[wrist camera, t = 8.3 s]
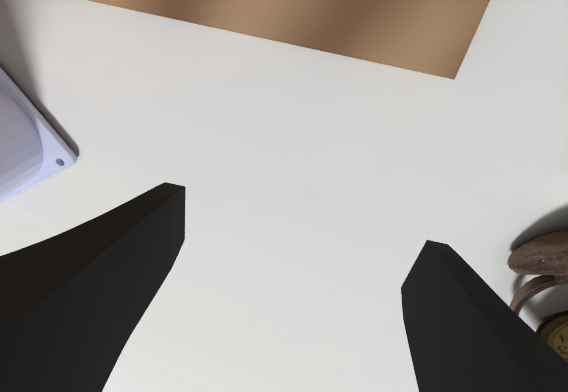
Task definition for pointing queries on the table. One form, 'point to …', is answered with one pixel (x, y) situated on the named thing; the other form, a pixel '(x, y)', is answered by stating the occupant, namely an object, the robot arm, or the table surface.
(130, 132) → the table surface
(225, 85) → the table surface
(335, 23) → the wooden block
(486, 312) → the robot arm
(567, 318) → the brown rounded piece
